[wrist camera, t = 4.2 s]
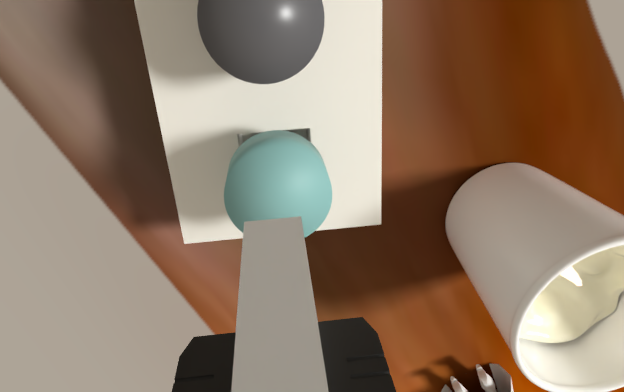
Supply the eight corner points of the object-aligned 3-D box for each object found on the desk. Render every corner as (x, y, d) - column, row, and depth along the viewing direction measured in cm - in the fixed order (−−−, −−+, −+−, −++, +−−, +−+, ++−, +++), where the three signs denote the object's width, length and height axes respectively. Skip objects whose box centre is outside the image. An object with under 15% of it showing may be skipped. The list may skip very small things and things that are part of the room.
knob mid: (206, -40, 24) (186, -47, 18) (306, -47, 24) (321, -56, 18) (221, 63, 26) (207, 88, 20) (312, 56, 26) (327, 79, 20)
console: (99, -281, 21) (64, -337, 17) (363, -290, 21) (383, -345, 18) (193, 213, 31) (184, 243, 28) (368, 197, 32) (381, 224, 28)
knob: (227, 112, 27) (216, 151, 21) (315, 105, 27) (329, 141, 21) (238, 193, 29) (231, 249, 23) (319, 185, 30) (334, 238, 23)
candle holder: (590, 172, 33) (751, 266, 22) (522, 283, 37) (631, 410, 26) (471, 133, 31) (584, 215, 20) (412, 254, 34) (479, 379, 24)
